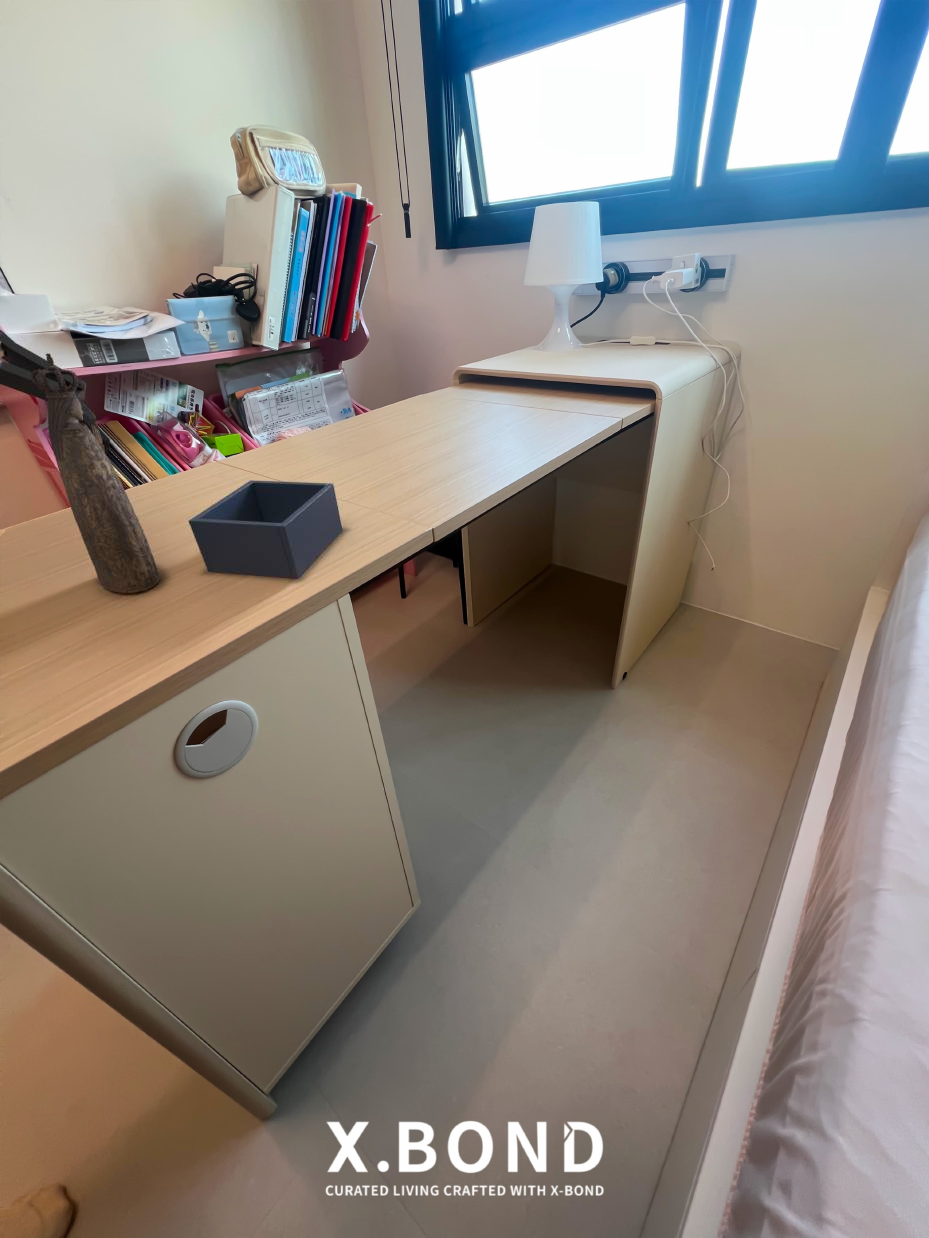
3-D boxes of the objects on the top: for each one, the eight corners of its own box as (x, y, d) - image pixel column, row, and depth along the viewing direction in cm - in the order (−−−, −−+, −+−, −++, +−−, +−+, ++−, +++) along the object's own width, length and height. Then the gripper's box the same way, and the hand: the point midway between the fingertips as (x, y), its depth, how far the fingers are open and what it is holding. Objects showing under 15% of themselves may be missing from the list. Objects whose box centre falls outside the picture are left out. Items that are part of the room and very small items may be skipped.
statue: (180, 564, 66) (90, 349, 51) (148, 595, 60) (35, 361, 45) (116, 565, 66) (10, 353, 52) (78, 596, 60) (-55, 365, 46)
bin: (207, 571, 64) (187, 520, 60) (263, 526, 75) (250, 480, 71) (298, 579, 61) (284, 526, 57) (342, 530, 72) (333, 483, 68)
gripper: (21, 322, 64) (144, 453, 67) (-273, 353, 47) (-89, 529, 49) (20, 270, 59) (153, 414, 62) (-311, 282, 41) (-103, 483, 44)
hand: (46, 465), depth 56 cm, fingers open, 13 cm apart
